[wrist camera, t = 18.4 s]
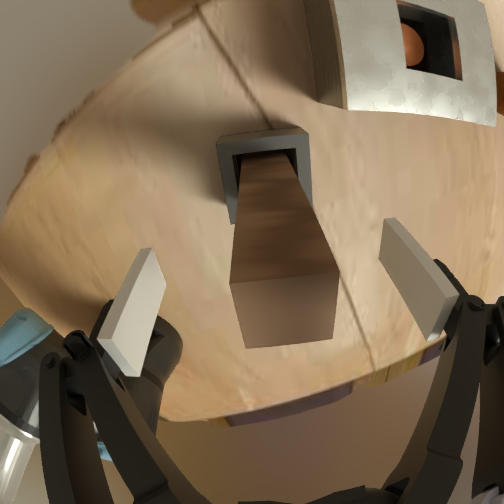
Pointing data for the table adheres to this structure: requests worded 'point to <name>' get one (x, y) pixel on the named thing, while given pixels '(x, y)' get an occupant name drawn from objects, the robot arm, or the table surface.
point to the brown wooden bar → (280, 258)
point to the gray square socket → (262, 142)
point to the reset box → (393, 57)
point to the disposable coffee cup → (500, 92)
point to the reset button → (412, 45)
